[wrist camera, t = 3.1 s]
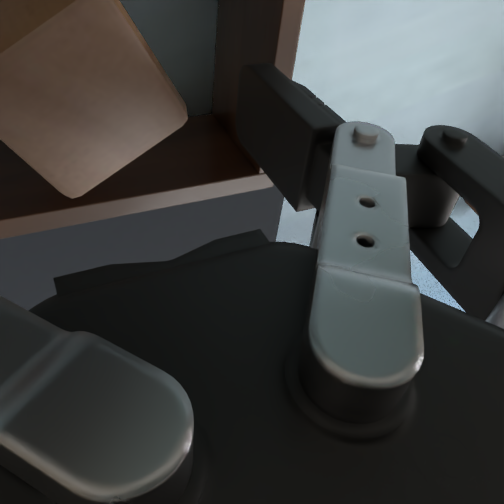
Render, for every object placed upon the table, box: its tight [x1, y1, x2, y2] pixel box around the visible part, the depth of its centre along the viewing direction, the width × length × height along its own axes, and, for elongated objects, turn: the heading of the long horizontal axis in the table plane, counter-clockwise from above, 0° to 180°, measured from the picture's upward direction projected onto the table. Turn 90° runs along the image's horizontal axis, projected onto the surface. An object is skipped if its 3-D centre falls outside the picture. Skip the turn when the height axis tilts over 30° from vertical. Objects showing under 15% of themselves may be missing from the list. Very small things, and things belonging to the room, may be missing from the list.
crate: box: [0, 0, 305, 239], centre depth 14 cm, size 12×15×5 cm
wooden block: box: [0, 0, 188, 199], centre depth 13 cm, size 4×4×8 cm
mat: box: [0, 185, 284, 311], centre depth 25 cm, size 12×22×1 cm, turn 83°
